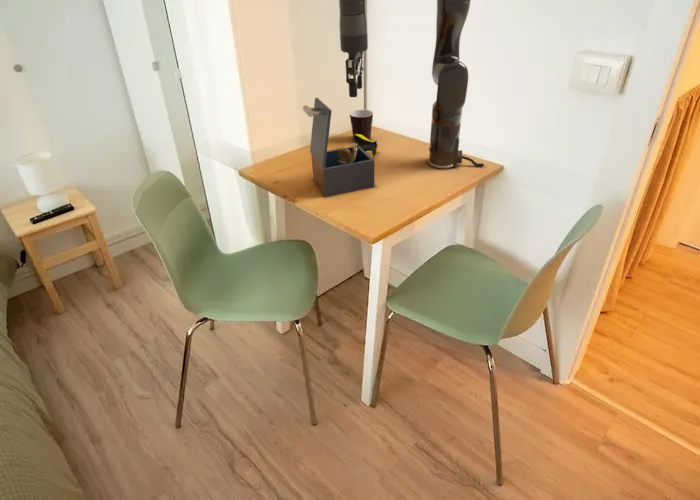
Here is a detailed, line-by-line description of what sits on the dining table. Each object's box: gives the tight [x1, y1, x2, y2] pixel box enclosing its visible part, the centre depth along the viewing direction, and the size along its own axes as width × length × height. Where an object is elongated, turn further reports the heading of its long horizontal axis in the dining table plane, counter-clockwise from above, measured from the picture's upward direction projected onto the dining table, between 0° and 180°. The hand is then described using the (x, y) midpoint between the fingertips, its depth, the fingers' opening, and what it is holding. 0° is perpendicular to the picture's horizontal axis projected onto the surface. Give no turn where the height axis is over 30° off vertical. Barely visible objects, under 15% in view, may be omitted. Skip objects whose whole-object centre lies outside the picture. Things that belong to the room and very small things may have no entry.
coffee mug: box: [349, 109, 374, 141], centre depth 172 cm, size 12×9×10 cm
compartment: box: [310, 145, 375, 198], centre depth 143 cm, size 16×13×9 cm
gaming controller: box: [342, 134, 379, 159], centre depth 162 cm, size 15×6×10 cm
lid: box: [302, 97, 333, 168], centre depth 133 cm, size 17×13×5 cm
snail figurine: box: [338, 143, 357, 165], centre depth 142 cm, size 5×6×12 cm
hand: (356, 92), depth 135 cm, fingers open, 8 cm apart
